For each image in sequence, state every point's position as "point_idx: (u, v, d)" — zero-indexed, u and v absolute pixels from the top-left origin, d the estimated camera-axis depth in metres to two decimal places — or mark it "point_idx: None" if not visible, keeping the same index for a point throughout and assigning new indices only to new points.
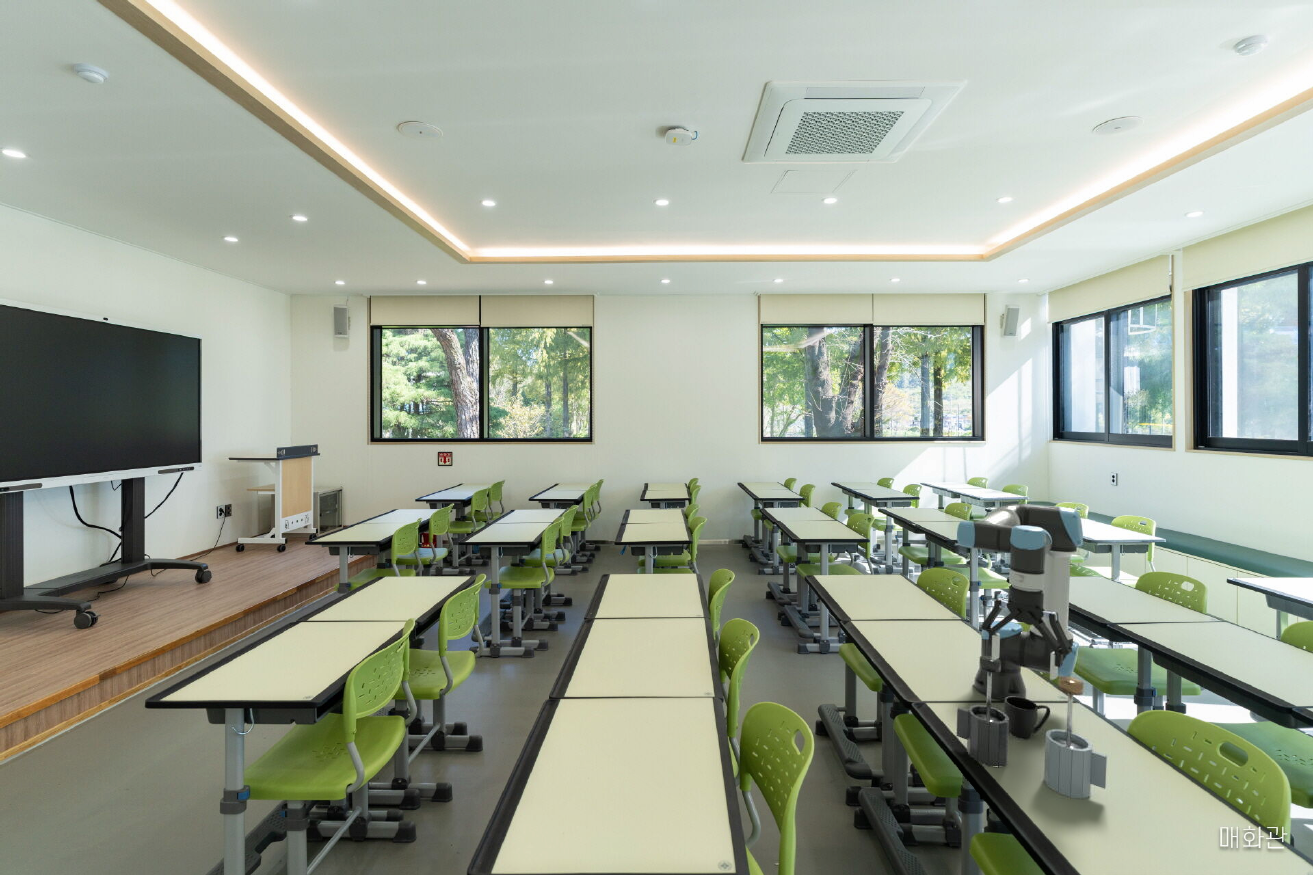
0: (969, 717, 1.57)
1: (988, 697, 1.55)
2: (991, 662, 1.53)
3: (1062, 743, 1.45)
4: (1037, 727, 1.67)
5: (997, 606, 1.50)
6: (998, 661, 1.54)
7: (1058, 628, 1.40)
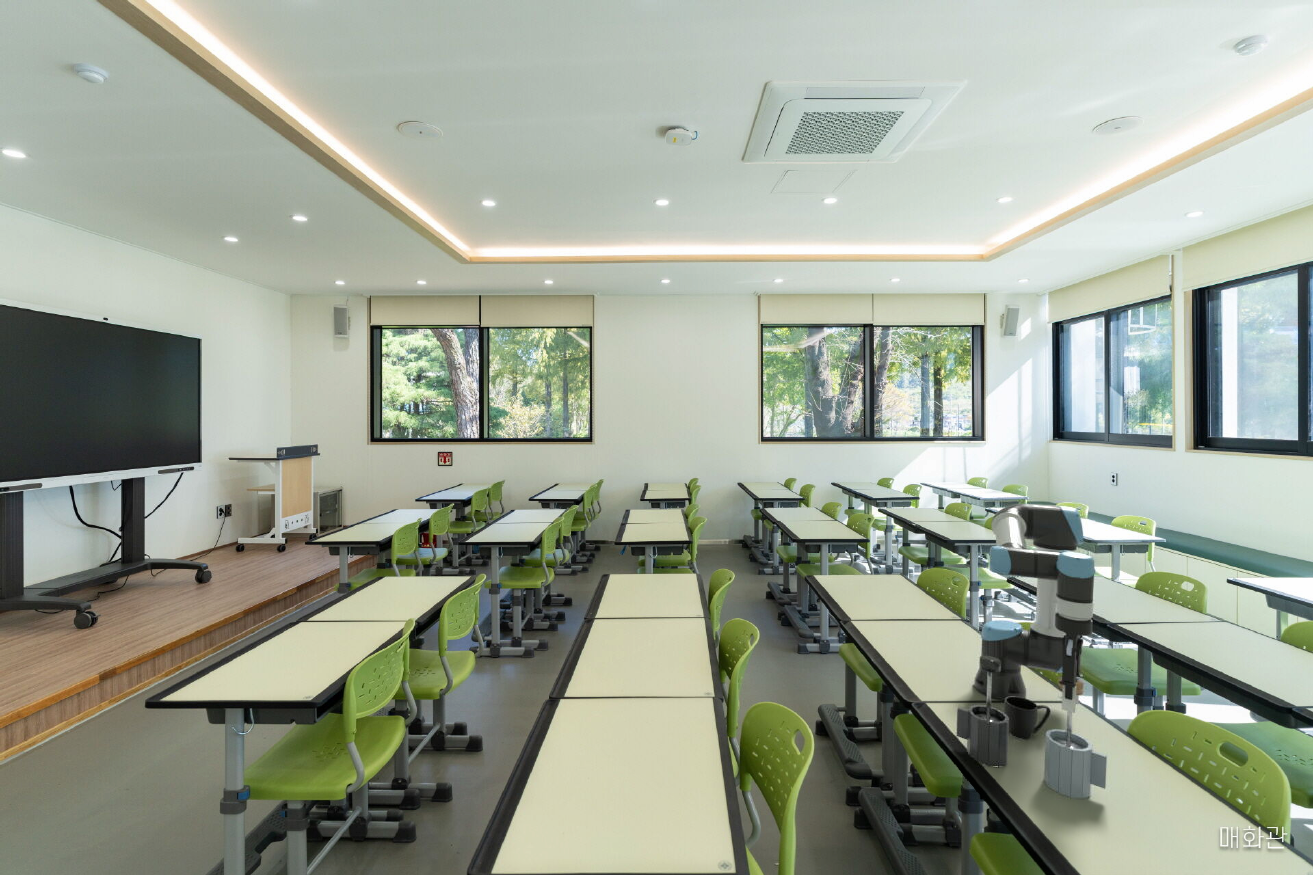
0: (969, 717, 1.57)
1: (988, 697, 1.55)
2: (991, 662, 1.53)
3: (1062, 743, 1.45)
4: (1037, 727, 1.67)
5: None
6: (998, 661, 1.54)
7: (1065, 661, 1.39)
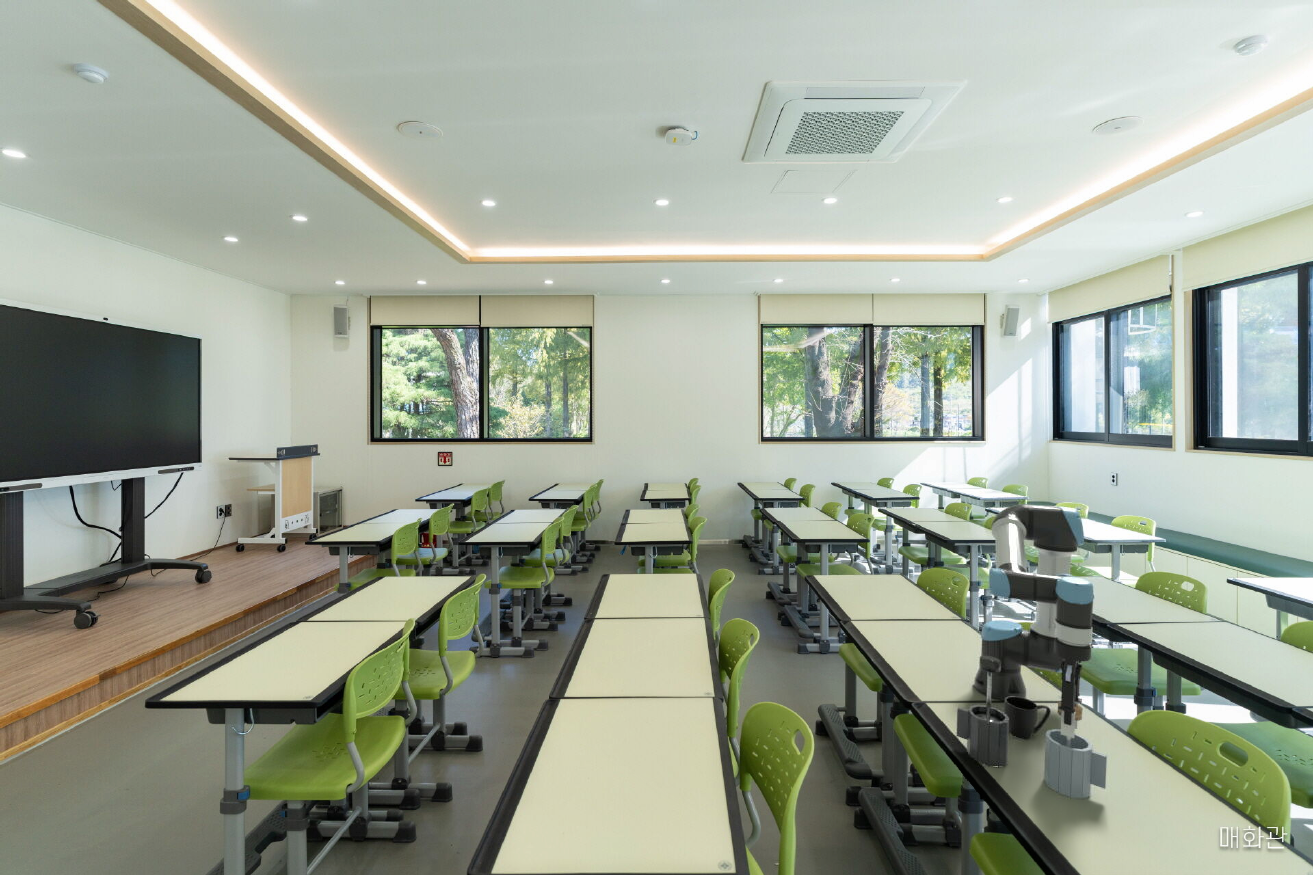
0: (969, 717, 1.57)
1: (988, 697, 1.55)
2: (991, 662, 1.53)
3: None
4: (1037, 727, 1.67)
5: None
6: (998, 661, 1.54)
7: (1064, 687, 1.39)
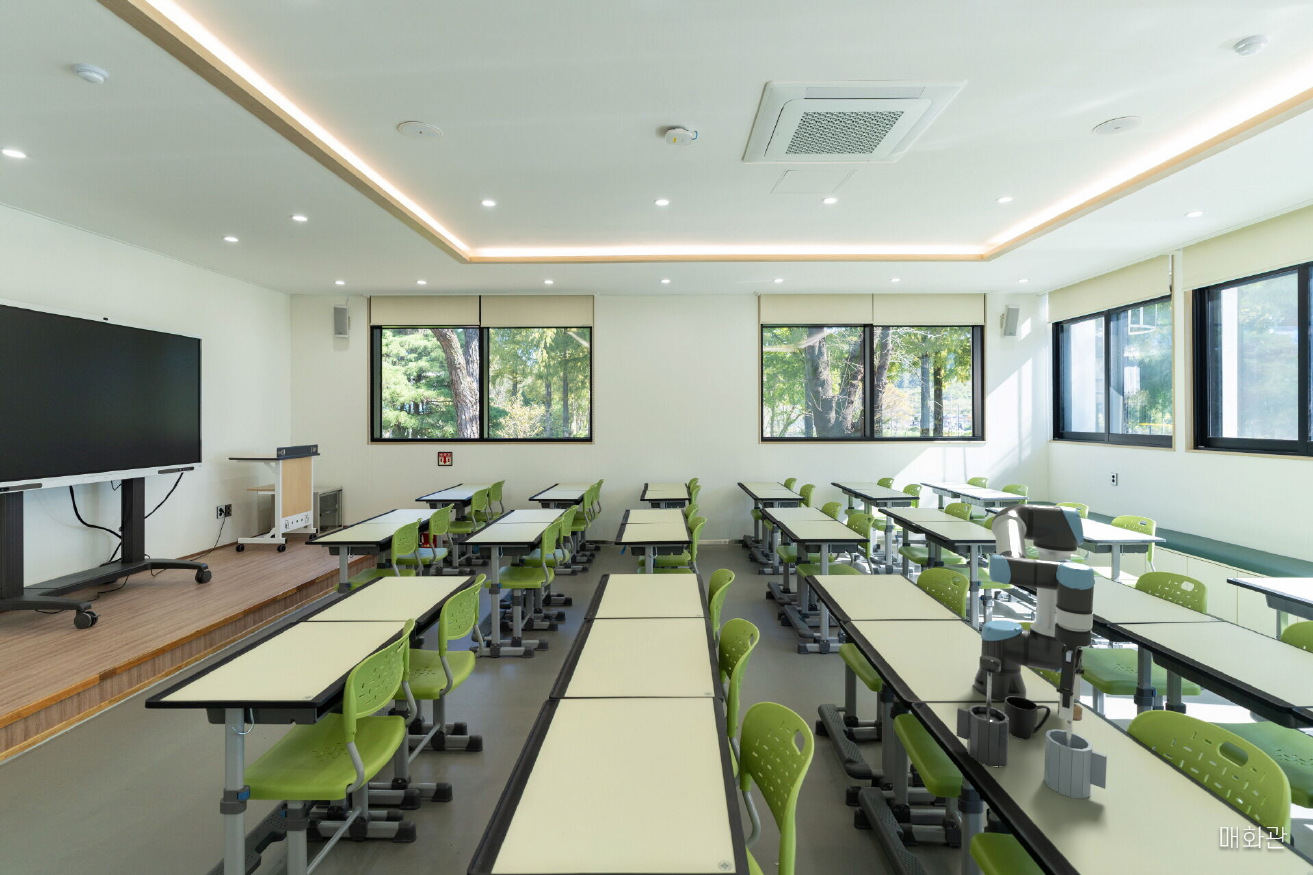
0: (969, 717, 1.57)
1: (988, 697, 1.55)
2: (991, 662, 1.53)
3: None
4: (1037, 727, 1.67)
5: None
6: (998, 661, 1.54)
7: (1064, 667, 1.38)
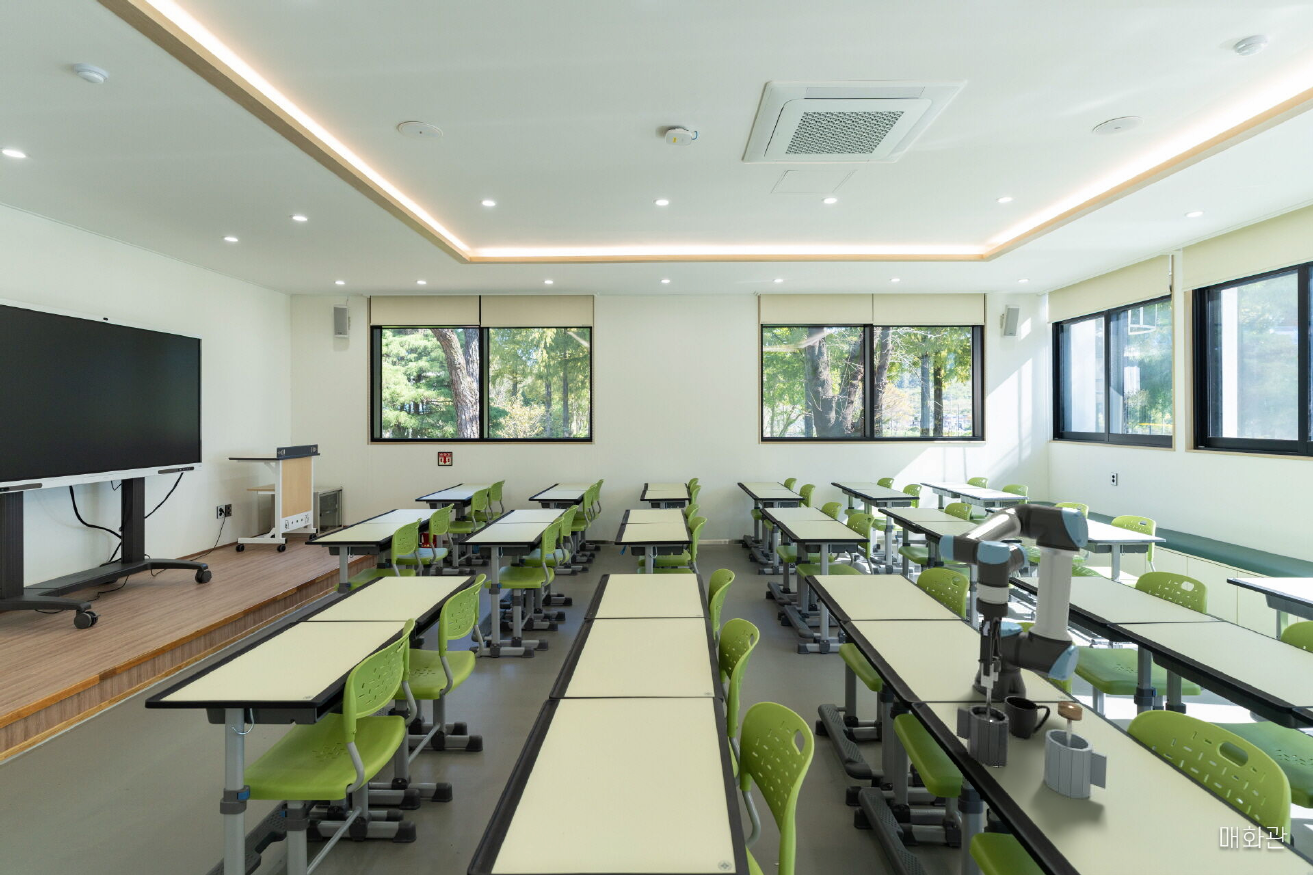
0: (969, 717, 1.57)
1: (988, 697, 1.55)
2: None
3: None
4: (1037, 727, 1.67)
5: None
6: (998, 661, 1.54)
7: (982, 641, 1.51)
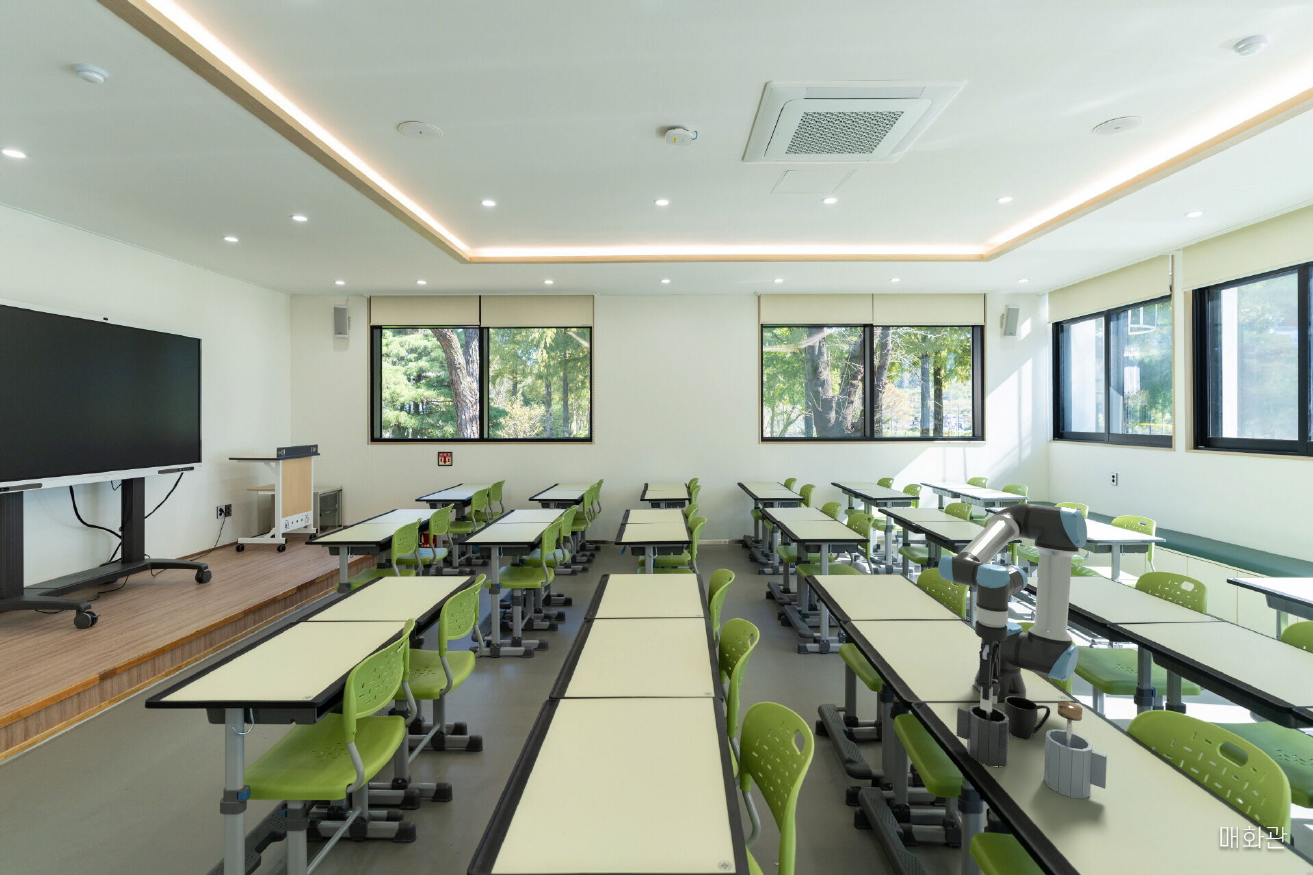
0: (969, 717, 1.57)
1: None
2: None
3: None
4: (1037, 727, 1.67)
5: None
6: (997, 684, 1.54)
7: (981, 665, 1.51)
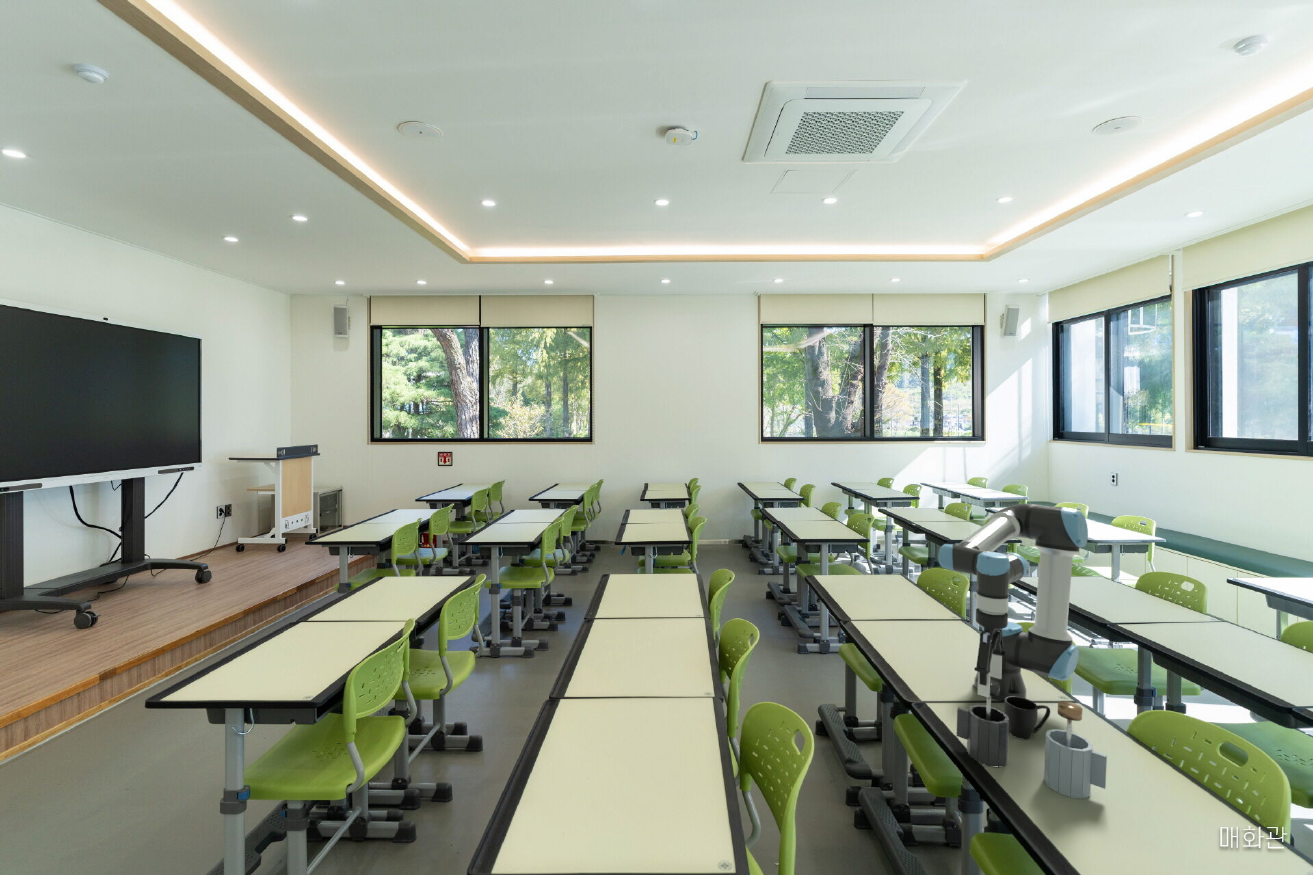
0: (969, 717, 1.57)
1: None
2: (990, 686, 1.53)
3: None
4: (1037, 727, 1.67)
5: None
6: (997, 684, 1.54)
7: (981, 648, 1.50)
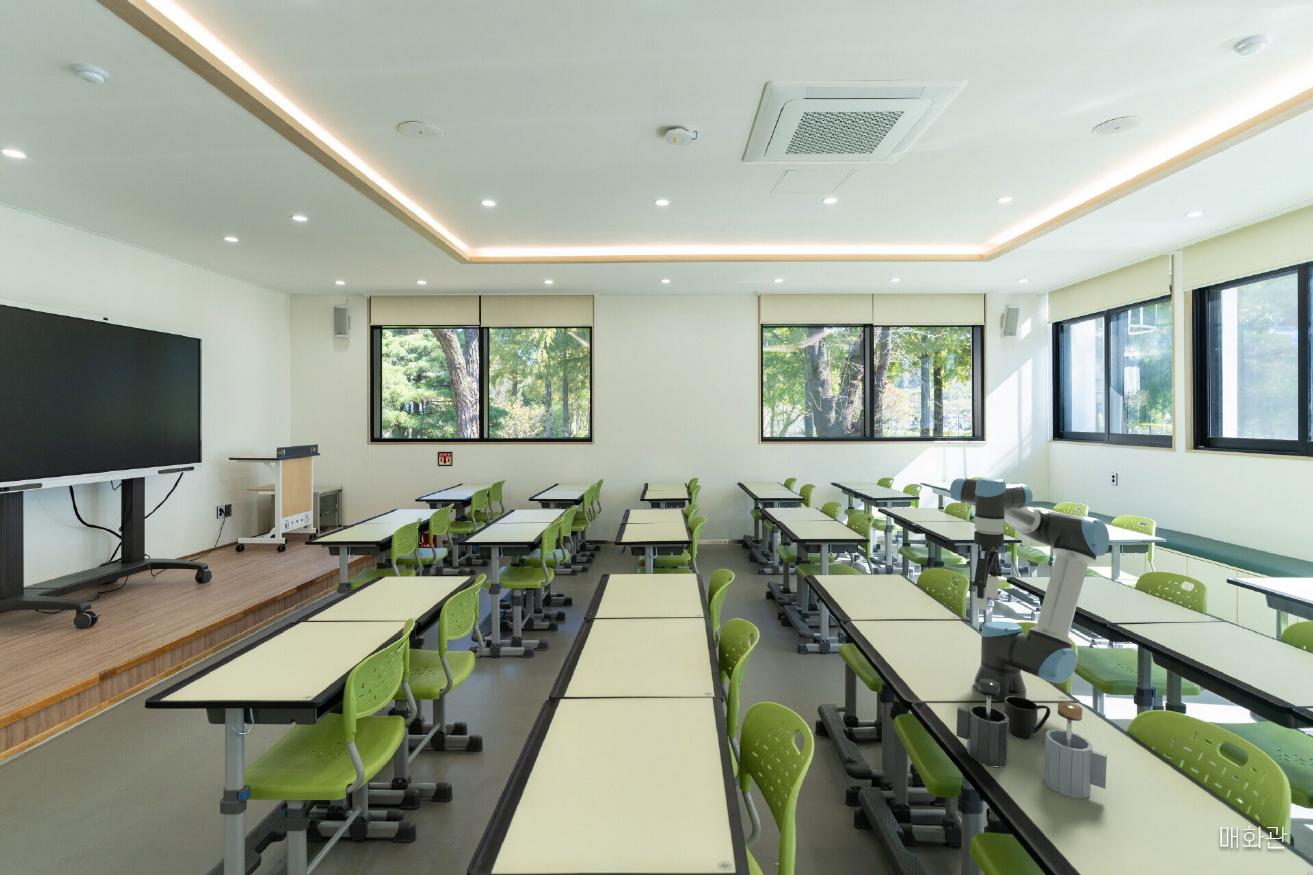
0: (969, 717, 1.57)
1: None
2: (990, 686, 1.53)
3: None
4: (1037, 727, 1.67)
5: None
6: (997, 684, 1.54)
7: (979, 564, 1.61)
